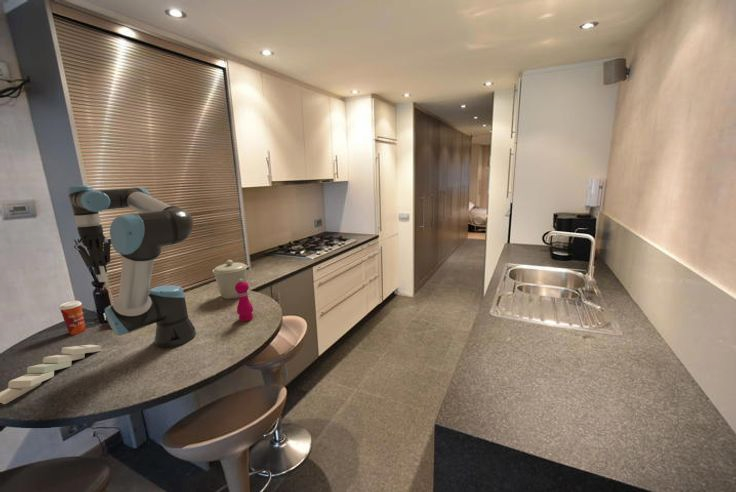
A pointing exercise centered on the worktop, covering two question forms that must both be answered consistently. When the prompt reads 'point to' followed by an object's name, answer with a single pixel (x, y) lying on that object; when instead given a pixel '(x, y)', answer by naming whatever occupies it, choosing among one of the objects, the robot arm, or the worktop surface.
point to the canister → (229, 278)
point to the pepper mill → (243, 301)
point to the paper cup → (73, 317)
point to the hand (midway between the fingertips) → (103, 281)
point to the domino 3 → (48, 367)
